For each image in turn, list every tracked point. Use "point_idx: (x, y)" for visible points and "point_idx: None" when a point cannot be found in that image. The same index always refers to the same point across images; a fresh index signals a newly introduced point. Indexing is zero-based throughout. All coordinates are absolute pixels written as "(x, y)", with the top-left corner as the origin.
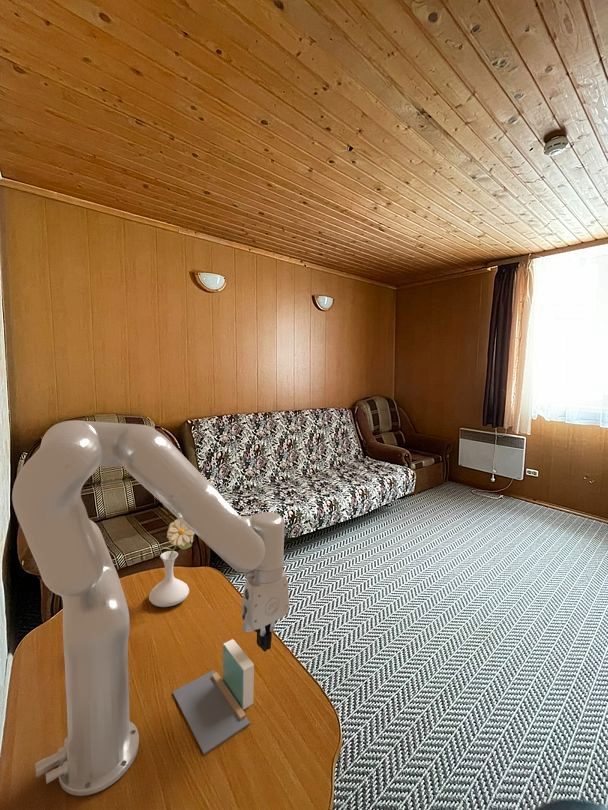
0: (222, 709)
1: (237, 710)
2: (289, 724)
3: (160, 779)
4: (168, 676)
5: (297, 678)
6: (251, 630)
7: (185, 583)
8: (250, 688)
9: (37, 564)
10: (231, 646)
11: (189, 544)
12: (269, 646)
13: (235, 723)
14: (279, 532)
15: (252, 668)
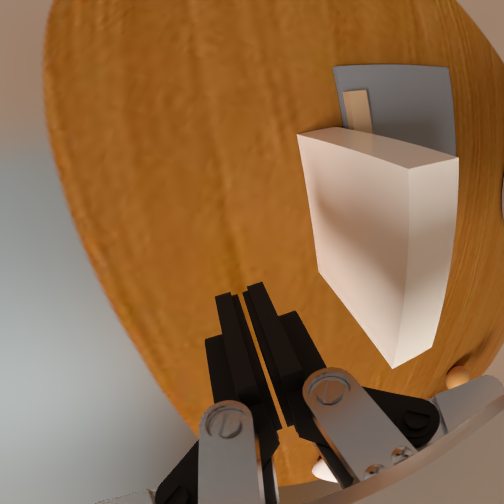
0: None
1: (366, 120)
2: (199, 6)
3: (493, 83)
4: None
5: (90, 185)
6: (447, 398)
7: (318, 477)
8: (344, 140)
9: None
10: (421, 330)
11: None
12: (228, 304)
13: (375, 89)
14: None
15: (400, 162)
